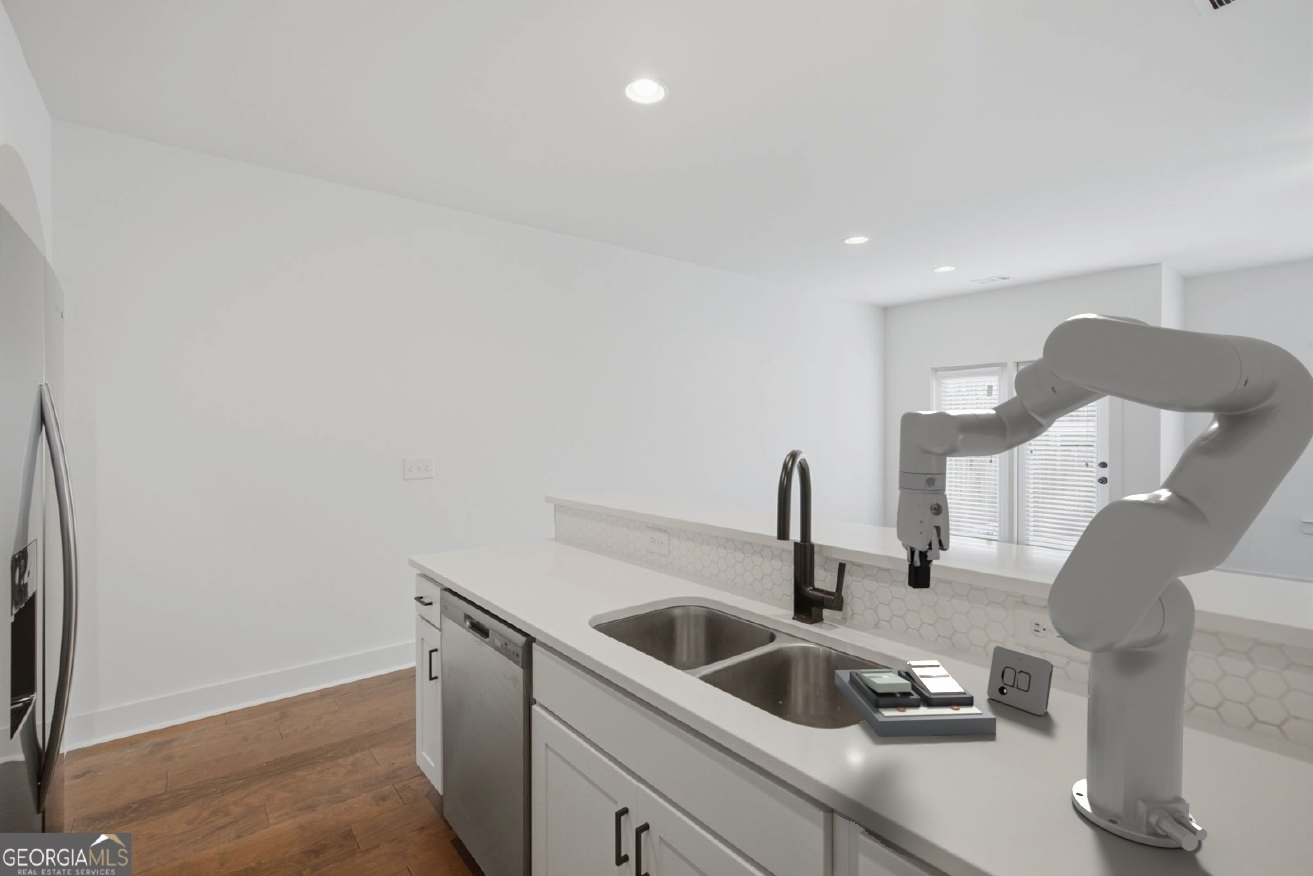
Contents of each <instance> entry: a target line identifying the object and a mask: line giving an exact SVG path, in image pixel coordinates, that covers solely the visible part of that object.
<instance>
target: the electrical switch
mask: <svg viewBox="0 0 1313 876" xmlns="http://www.w3.org/2000/svg"><path fill="white" fill-rule="evenodd" d="M1053 672H1054V664H1052V662H1051V660H1050V659H1048V658H1044V657H1040V656H1037V655H1033V654H1029V653H1028V652H1027V653H1026V652H1024V651H1020V650H1017V649H1012V648H1009V647H1006V646H1002V645H996V646H995V647H993V650H992V659H991V665H990V672H989V677H988V684H987V692H986V694H987V696H988V697H989V699H993V700H994V701H998V702H1000V703H1003V704H1005V705H1006V704H1007V705H1009V706H1012V707H1014V708H1018V709H1020V710H1023V711H1026V712H1029V713H1032V714H1034V715H1037V716H1041V717H1042V716H1044V715H1045V713H1046V711H1048V706H1049V700H1050V692H1051V684H1052V678H1053Z"/></svg>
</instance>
